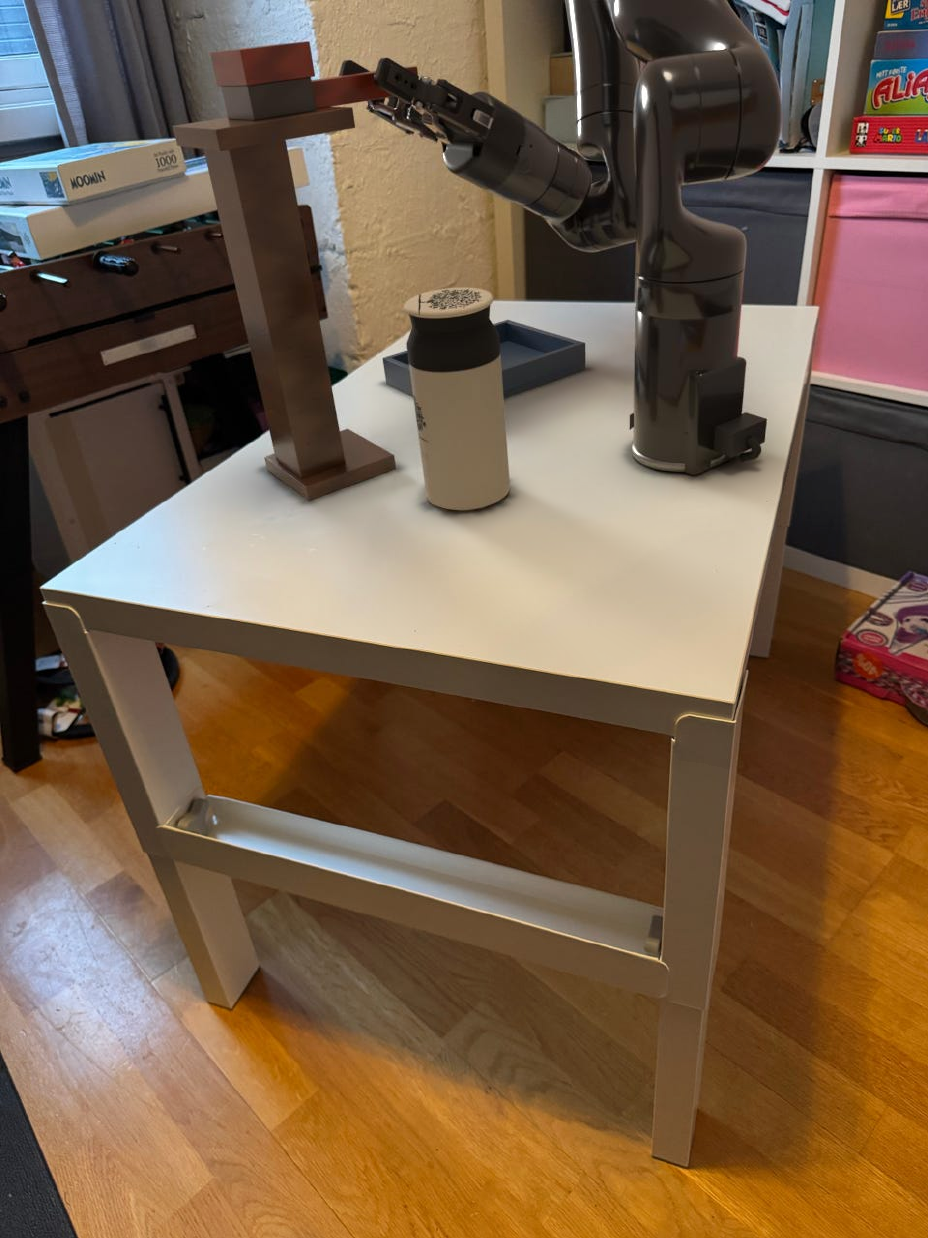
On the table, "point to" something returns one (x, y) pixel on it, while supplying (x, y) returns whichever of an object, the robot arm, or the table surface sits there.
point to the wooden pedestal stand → (282, 296)
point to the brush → (285, 82)
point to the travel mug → (458, 397)
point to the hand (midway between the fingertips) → (360, 70)
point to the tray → (513, 359)
